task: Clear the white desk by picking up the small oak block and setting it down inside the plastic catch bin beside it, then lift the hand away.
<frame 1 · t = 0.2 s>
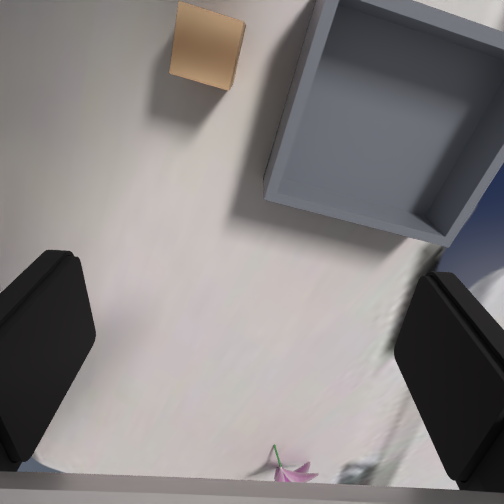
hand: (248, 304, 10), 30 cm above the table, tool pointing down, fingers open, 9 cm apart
catch bin: (381, 122, 36), on the table
lily: (283, 454, 67), on the table
oak block: (213, 47, 33), on the table
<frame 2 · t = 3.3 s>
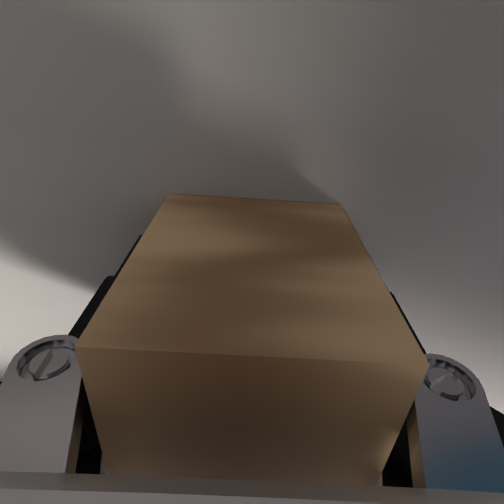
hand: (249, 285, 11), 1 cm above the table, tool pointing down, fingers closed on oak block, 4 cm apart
oak block: (250, 271, 11), on the table, touching gripper
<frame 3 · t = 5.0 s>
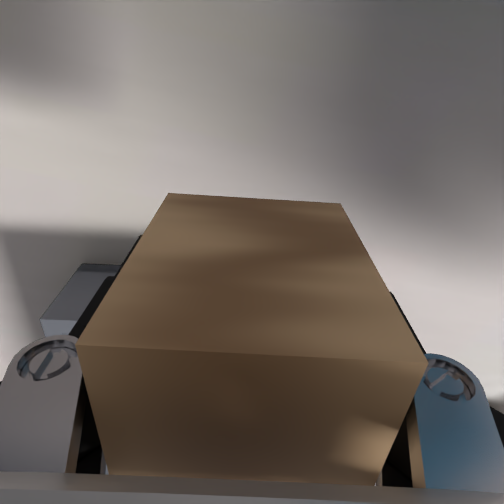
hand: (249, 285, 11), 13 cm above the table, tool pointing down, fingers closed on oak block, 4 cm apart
catch bin: (207, 364, 31), on the table
oak block: (249, 270, 11), point 12 cm above the table, touching gripper
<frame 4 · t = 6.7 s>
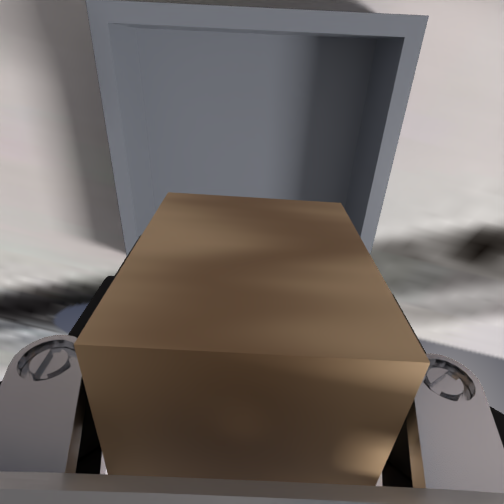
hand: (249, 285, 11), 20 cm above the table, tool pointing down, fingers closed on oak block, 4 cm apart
catch bin: (251, 164, 28), on the table
oak block: (250, 270, 11), point 19 cm above the table, touching gripper
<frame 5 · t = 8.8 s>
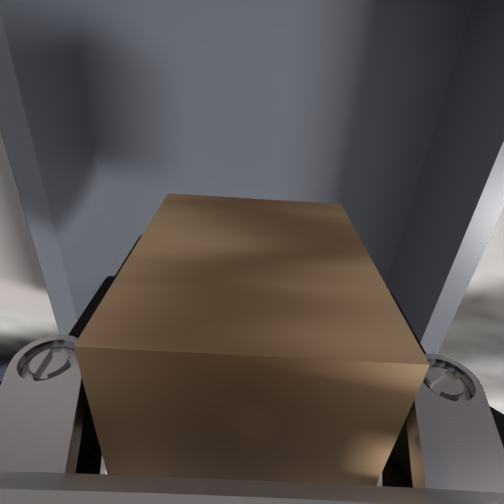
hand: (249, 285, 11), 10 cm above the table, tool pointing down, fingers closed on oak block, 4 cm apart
catch bin: (258, 181, 19), on the table
oak block: (249, 271, 11), point 9 cm above the table, touching gripper
when the fingers open (3 cm above the table, at t = 10.4 s): oak block drops 1 cm, resting on catch bin.
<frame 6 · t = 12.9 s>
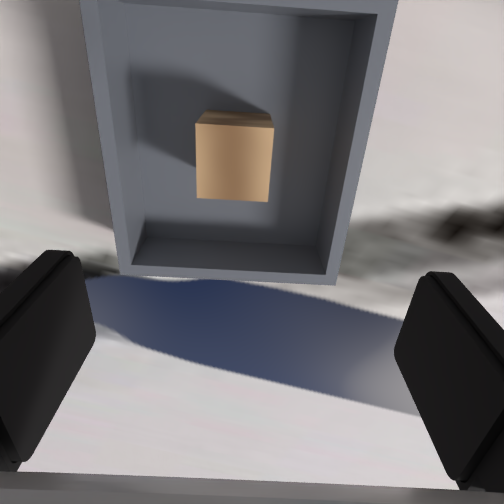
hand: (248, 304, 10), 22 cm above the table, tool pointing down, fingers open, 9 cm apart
catch bin: (236, 141, 29), on the table
oak block: (236, 144, 29), point 1 cm above the table, touching catch bin
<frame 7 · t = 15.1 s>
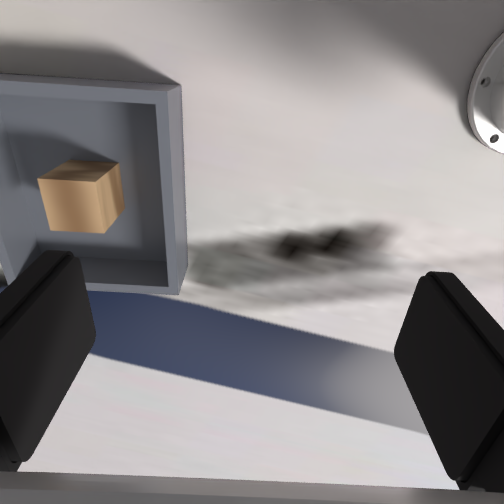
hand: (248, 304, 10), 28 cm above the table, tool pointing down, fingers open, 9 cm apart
catch bin: (101, 182, 38), on the table
oak block: (98, 184, 37), point 1 cm above the table, touching catch bin
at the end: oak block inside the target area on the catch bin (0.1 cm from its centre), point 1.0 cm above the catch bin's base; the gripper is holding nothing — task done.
